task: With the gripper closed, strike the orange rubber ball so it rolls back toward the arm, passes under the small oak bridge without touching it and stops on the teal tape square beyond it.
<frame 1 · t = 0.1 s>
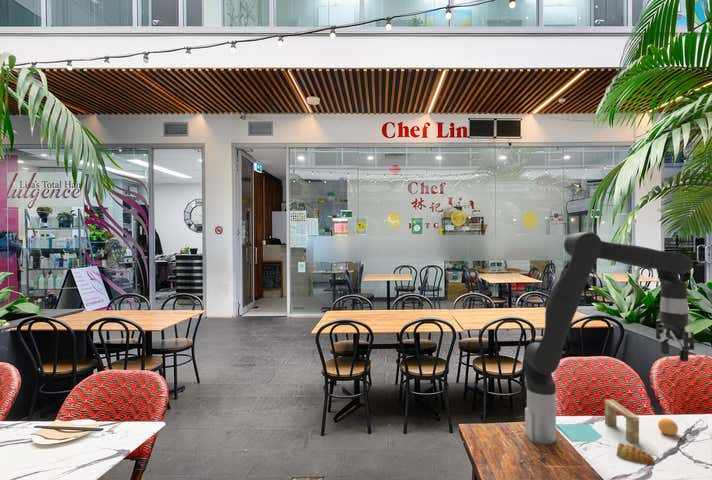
hand: (674, 357, 135), 28 cm above the table, tool pointing down, fingers open, 8 cm apart
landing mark: (580, 432, 140), on the table
bridge: (621, 433, 139), on the table
ball: (667, 426, 138), on the table
pastry: (632, 459, 124), on the table
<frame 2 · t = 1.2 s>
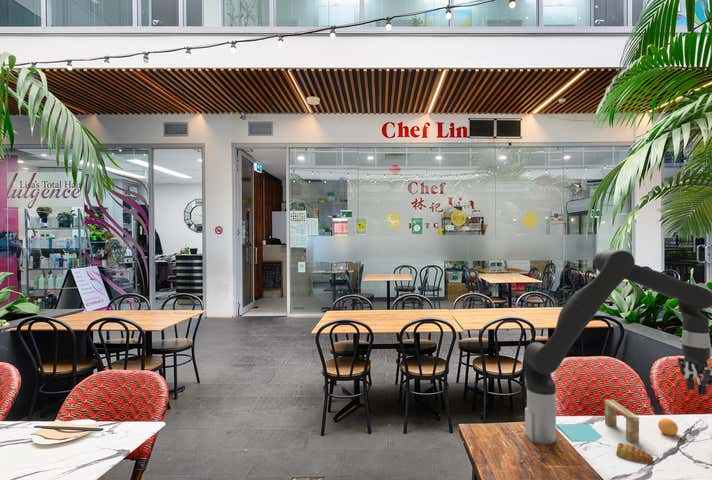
hand: (695, 392, 137), 15 cm above the table, tool pointing down, fingers open, 4 cm apart
nothing on the table moved.
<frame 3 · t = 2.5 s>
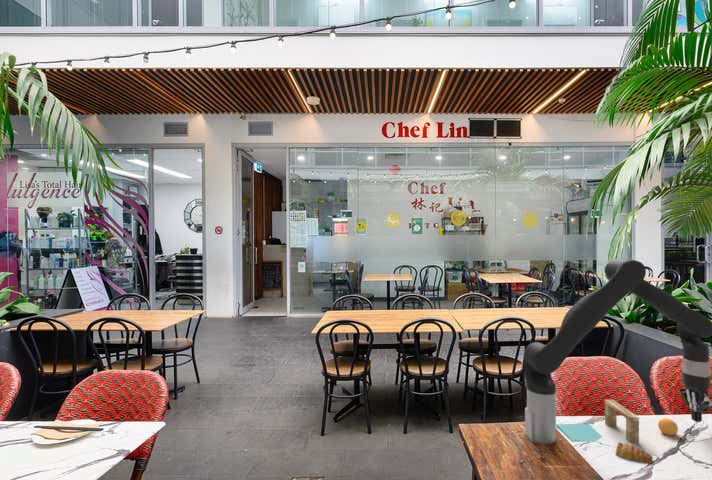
hand: (696, 420, 138), 5 cm above the table, tool pointing down, fingers closed
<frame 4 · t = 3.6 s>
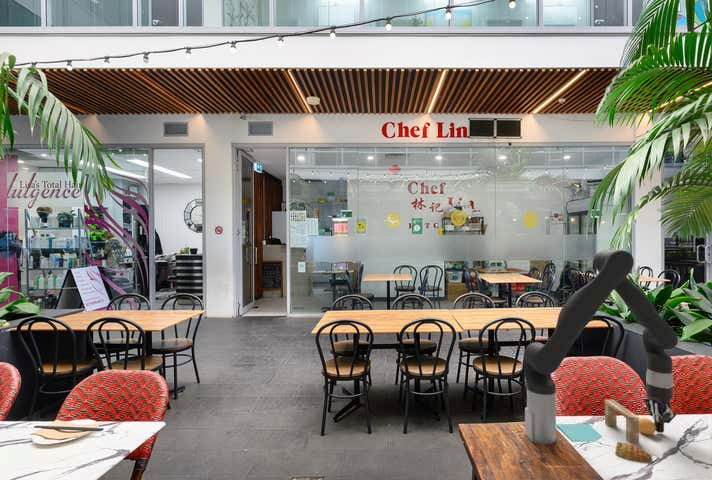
hand: (659, 431, 138), 1 cm above the table, tool pointing down, fingers closed
ball: (645, 426, 139), on the table
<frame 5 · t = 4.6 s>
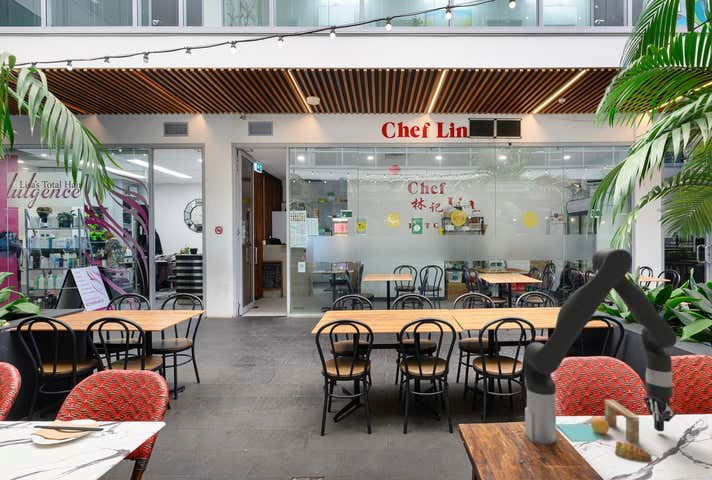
hand: (659, 430, 138), 2 cm above the table, tool pointing down, fingers closed
ball: (599, 425, 140), on the table
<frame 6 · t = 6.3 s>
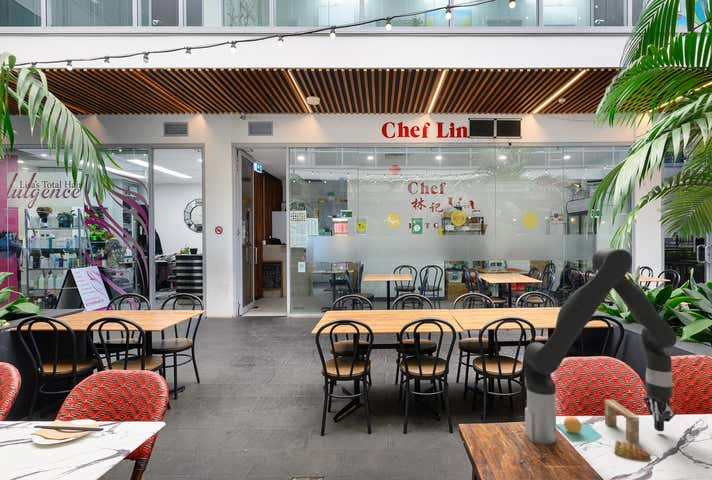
hand: (659, 430, 138), 2 cm above the table, tool pointing down, fingers closed
ball: (572, 425, 140), on the table
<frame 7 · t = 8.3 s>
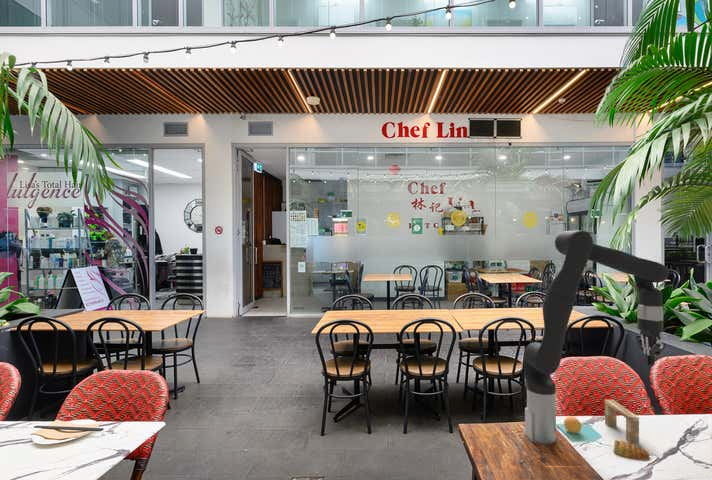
hand: (649, 365, 141), 24 cm above the table, tool pointing down, fingers closed
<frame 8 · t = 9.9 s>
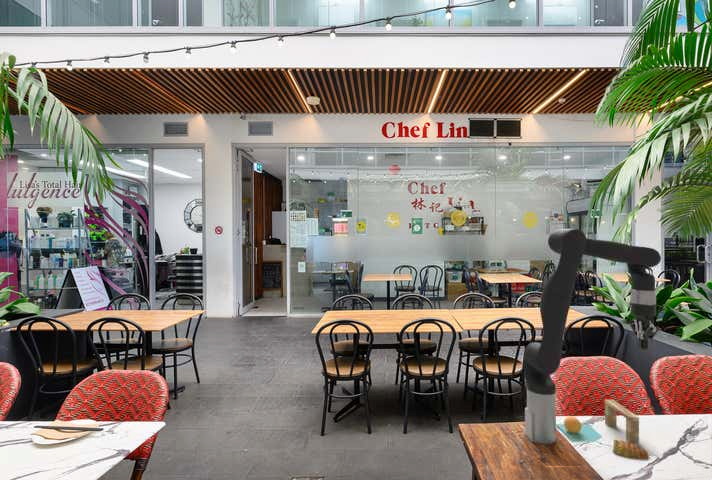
hand: (643, 348, 143), 29 cm above the table, tool pointing down, fingers closed
at the end: ball 2.8 cm from the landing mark (horizontally); ball never touched bridge; ball at rest at the end (0.0 cm/s) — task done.
